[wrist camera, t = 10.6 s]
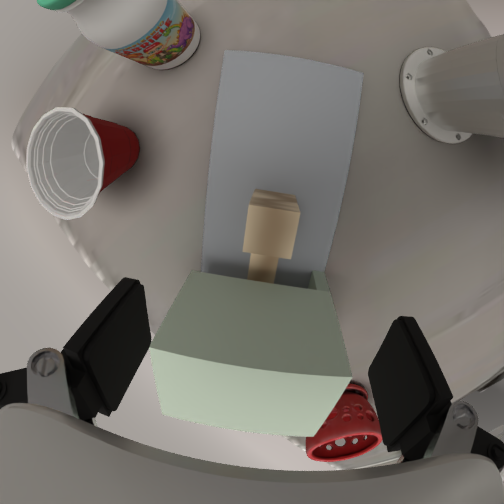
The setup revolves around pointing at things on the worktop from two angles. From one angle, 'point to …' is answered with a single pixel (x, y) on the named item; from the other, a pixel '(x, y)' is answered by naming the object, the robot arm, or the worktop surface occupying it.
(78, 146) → the plastic cup
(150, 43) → the milk bottle
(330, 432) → the plant pot
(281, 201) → the block
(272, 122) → the board
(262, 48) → the worktop surface
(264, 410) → the shelf block
